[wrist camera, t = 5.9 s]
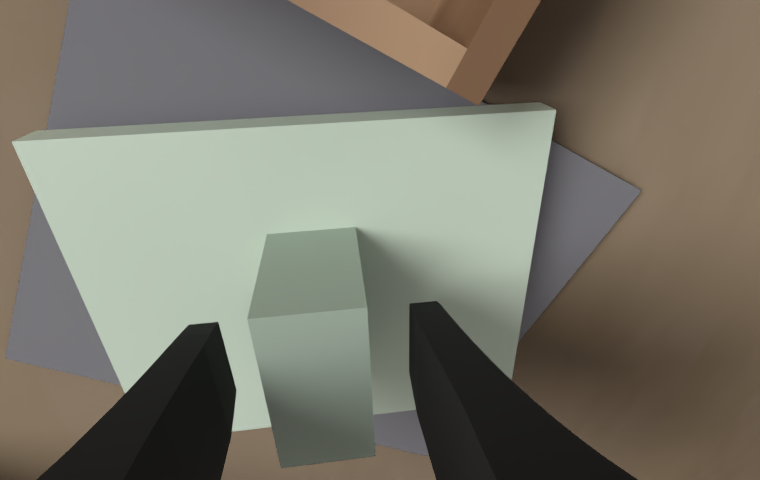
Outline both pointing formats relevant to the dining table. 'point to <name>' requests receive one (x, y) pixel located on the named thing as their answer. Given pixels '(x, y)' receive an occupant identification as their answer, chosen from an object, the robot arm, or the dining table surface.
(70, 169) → the lid
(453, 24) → the box
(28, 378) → the dining table surface
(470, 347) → the robot arm
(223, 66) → the mat
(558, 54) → the dining table surface
